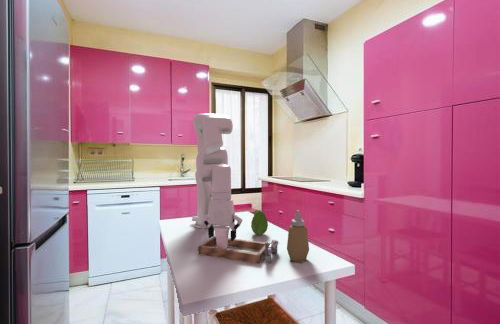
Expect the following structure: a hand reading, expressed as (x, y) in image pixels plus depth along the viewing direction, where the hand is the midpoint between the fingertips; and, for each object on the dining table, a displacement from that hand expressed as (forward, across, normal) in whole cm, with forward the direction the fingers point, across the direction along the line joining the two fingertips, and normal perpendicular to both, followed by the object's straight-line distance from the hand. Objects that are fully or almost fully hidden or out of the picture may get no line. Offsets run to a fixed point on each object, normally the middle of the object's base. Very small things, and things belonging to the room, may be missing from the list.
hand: (222, 238), depth 101 cm
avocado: (+5, +8, +24) cm, 26 cm away
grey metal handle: (+5, +20, 0) cm, 21 cm away
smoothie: (+5, 0, 0) cm, 5 cm away
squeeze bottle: (+5, +30, +2) cm, 30 cm away
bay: (+5, +6, 0) cm, 7 cm away
